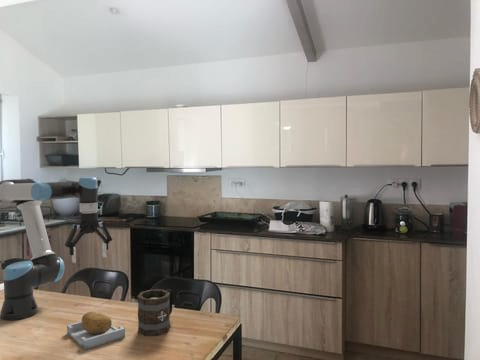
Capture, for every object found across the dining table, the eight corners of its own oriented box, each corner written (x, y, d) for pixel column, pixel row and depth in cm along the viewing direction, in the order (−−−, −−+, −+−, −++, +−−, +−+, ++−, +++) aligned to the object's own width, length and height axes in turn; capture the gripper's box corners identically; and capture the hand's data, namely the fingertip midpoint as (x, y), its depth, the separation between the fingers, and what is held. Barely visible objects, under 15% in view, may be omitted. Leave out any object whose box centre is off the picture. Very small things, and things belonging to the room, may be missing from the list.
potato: (99, 341, 151) (99, 321, 151) (75, 333, 158) (75, 314, 158) (118, 332, 160) (118, 313, 159) (95, 325, 167) (95, 306, 166)
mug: (158, 339, 155) (157, 302, 154) (130, 333, 160) (130, 297, 160) (184, 320, 173) (184, 287, 172) (158, 316, 178) (158, 283, 178)
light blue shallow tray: (67, 333, 160) (67, 325, 160) (105, 322, 171) (105, 314, 171) (85, 349, 146) (84, 340, 146) (125, 336, 157) (125, 328, 157)
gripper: (62, 215, 162) (63, 266, 163) (119, 210, 179) (119, 256, 180) (56, 213, 167) (57, 262, 168) (112, 209, 184) (112, 253, 185)
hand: (89, 259), depth 174 cm, fingers open, 13 cm apart
